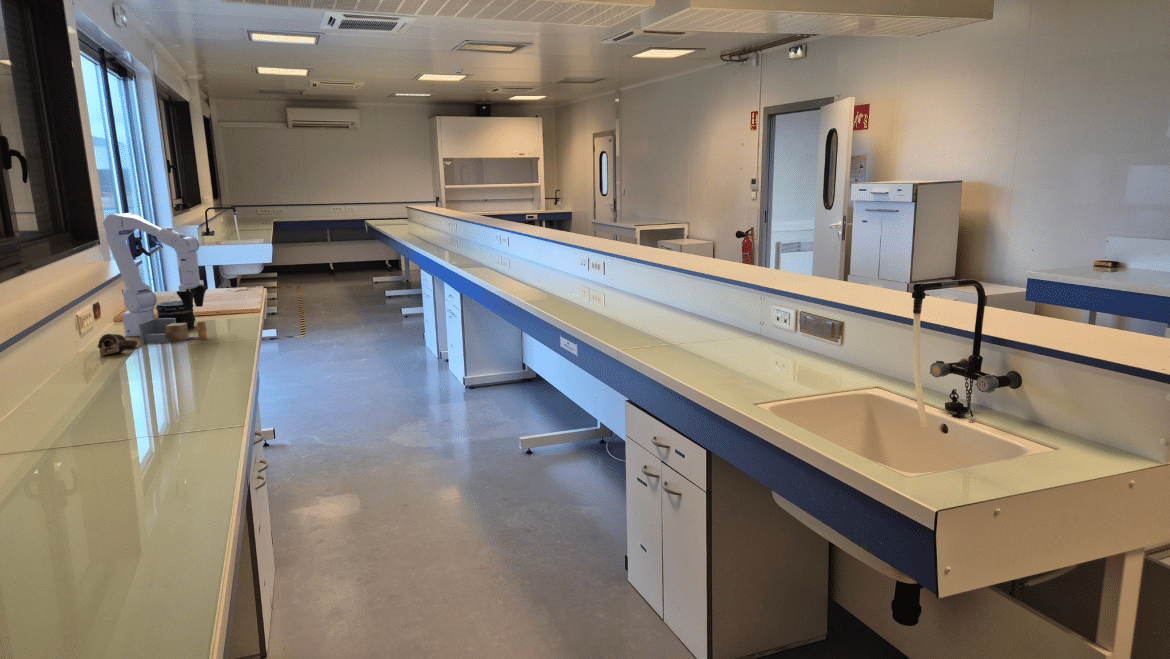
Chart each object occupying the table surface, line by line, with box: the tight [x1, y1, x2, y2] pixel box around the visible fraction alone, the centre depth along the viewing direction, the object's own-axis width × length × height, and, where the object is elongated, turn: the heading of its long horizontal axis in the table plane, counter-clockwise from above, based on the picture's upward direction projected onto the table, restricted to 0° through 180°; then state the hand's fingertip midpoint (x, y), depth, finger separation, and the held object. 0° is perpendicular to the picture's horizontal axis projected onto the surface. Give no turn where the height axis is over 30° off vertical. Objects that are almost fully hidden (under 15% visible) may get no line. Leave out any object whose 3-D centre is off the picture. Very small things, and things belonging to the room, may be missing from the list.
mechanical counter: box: [97, 333, 138, 356], centre depth 241 cm, size 7×13×10 cm
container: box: [155, 300, 196, 330], centre depth 278 cm, size 13×13×10 cm
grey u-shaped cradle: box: [139, 318, 176, 345], centre depth 257 cm, size 8×10×7 cm
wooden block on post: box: [165, 321, 208, 342], centre depth 258 cm, size 12×5×6 cm, turn 93°
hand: (194, 308), depth 264 cm, fingers open, 7 cm apart
